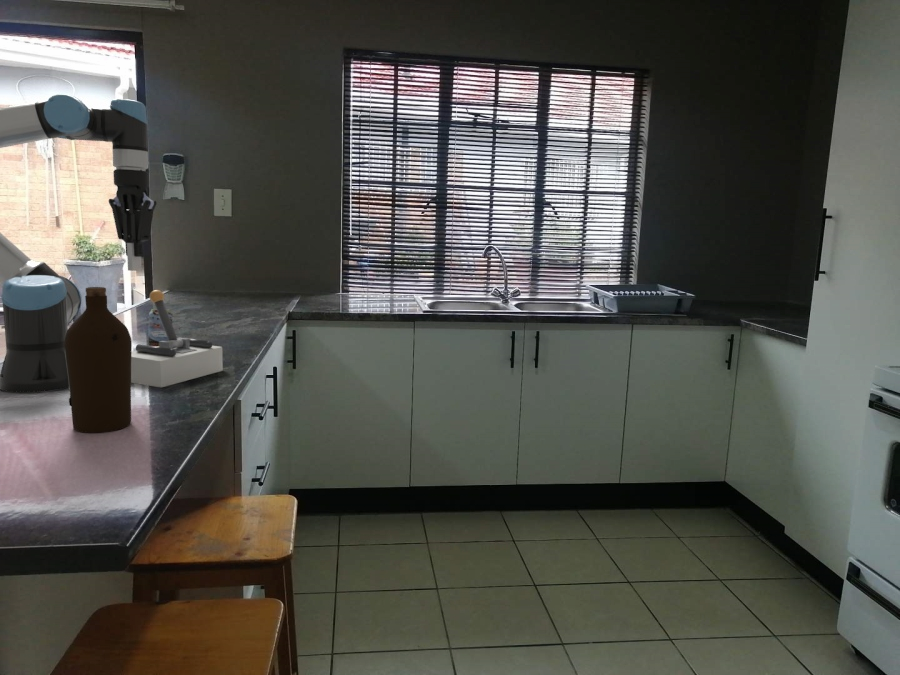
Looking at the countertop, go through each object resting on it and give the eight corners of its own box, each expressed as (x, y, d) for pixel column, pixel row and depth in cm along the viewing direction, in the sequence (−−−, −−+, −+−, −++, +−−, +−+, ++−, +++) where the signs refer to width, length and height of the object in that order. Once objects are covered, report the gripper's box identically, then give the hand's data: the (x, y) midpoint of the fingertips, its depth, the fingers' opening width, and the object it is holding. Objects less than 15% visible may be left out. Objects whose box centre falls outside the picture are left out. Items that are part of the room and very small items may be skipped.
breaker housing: (161, 387, 150) (159, 350, 149) (117, 380, 155) (115, 344, 154) (222, 370, 169) (222, 337, 167) (181, 364, 173) (181, 332, 172)
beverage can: (146, 353, 185) (145, 310, 183) (151, 348, 192) (149, 306, 190) (171, 353, 187) (170, 310, 185) (174, 348, 194) (173, 306, 192)
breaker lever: (175, 346, 159) (153, 288, 159) (165, 351, 161) (144, 293, 161) (186, 344, 163) (164, 287, 163) (176, 348, 164) (155, 292, 164)
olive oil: (145, 418, 128) (139, 286, 124) (117, 435, 117) (110, 292, 113) (89, 415, 128) (81, 283, 124) (56, 433, 117) (47, 289, 113)
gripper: (164, 171, 160) (167, 271, 164) (124, 170, 165) (127, 267, 169) (138, 168, 153) (142, 272, 157) (97, 167, 158) (101, 269, 162)
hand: (134, 270), depth 163 cm, fingers closed
